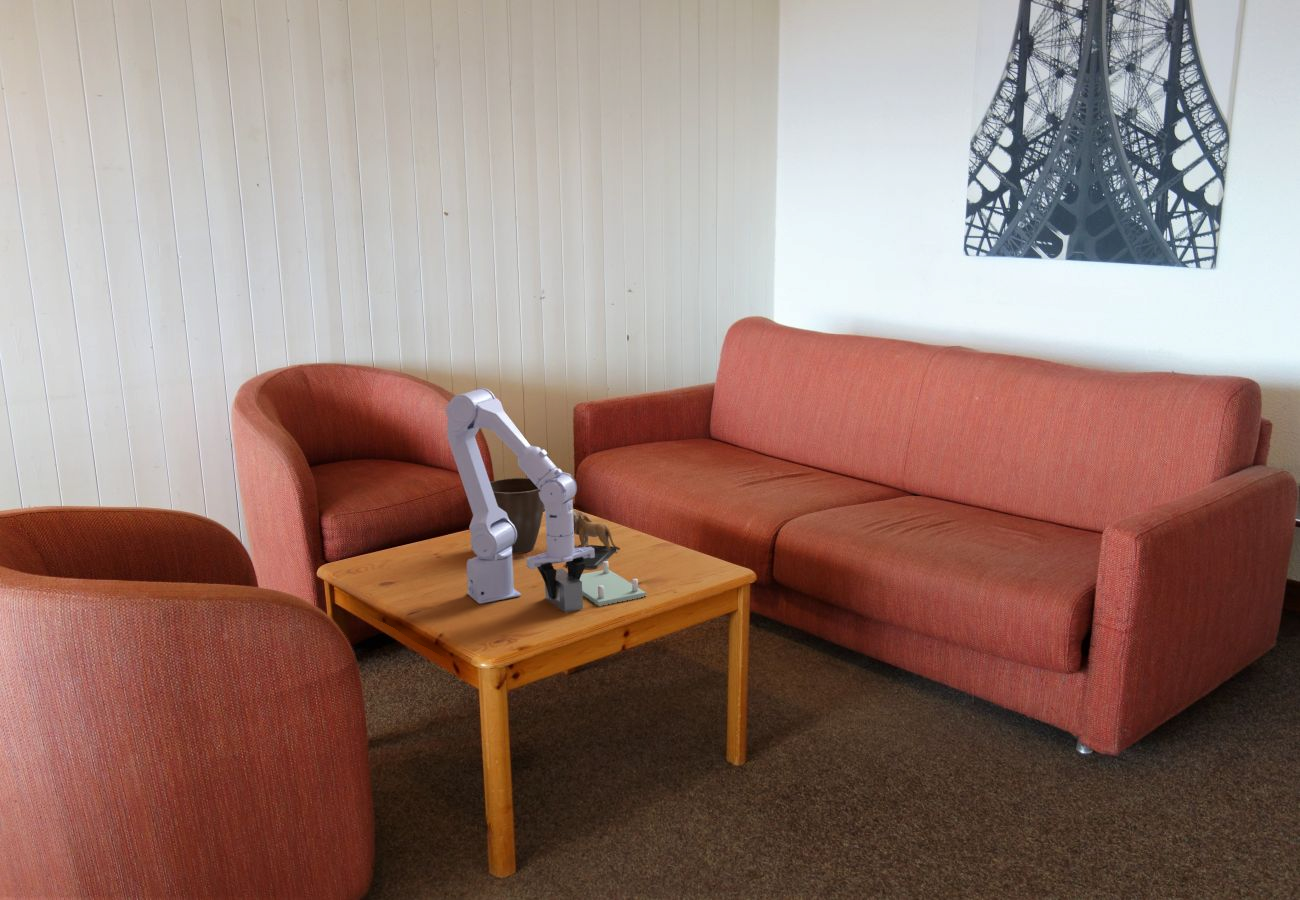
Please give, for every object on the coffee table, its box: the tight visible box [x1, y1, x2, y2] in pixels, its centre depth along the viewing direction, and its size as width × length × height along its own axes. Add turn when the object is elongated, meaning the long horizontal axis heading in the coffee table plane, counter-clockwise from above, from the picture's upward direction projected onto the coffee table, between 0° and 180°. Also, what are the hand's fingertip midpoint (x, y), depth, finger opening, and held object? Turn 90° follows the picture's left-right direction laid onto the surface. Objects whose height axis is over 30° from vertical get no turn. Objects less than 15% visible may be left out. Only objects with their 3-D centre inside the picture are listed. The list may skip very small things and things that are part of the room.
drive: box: [544, 568, 584, 614], centre depth 230 cm, size 4×10×6 cm, turn 28°
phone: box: [565, 544, 617, 570], centre depth 260 cm, size 8×1×15 cm
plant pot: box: [490, 477, 545, 554], centre depth 267 cm, size 15×15×16 cm
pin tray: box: [580, 560, 647, 607], centre depth 239 cm, size 11×18×4 cm, turn 28°
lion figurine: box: [573, 509, 621, 551], centre depth 267 cm, size 15×5×9 cm, turn 64°
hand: (562, 595), depth 231 cm, fingers closed on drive, 4 cm apart
